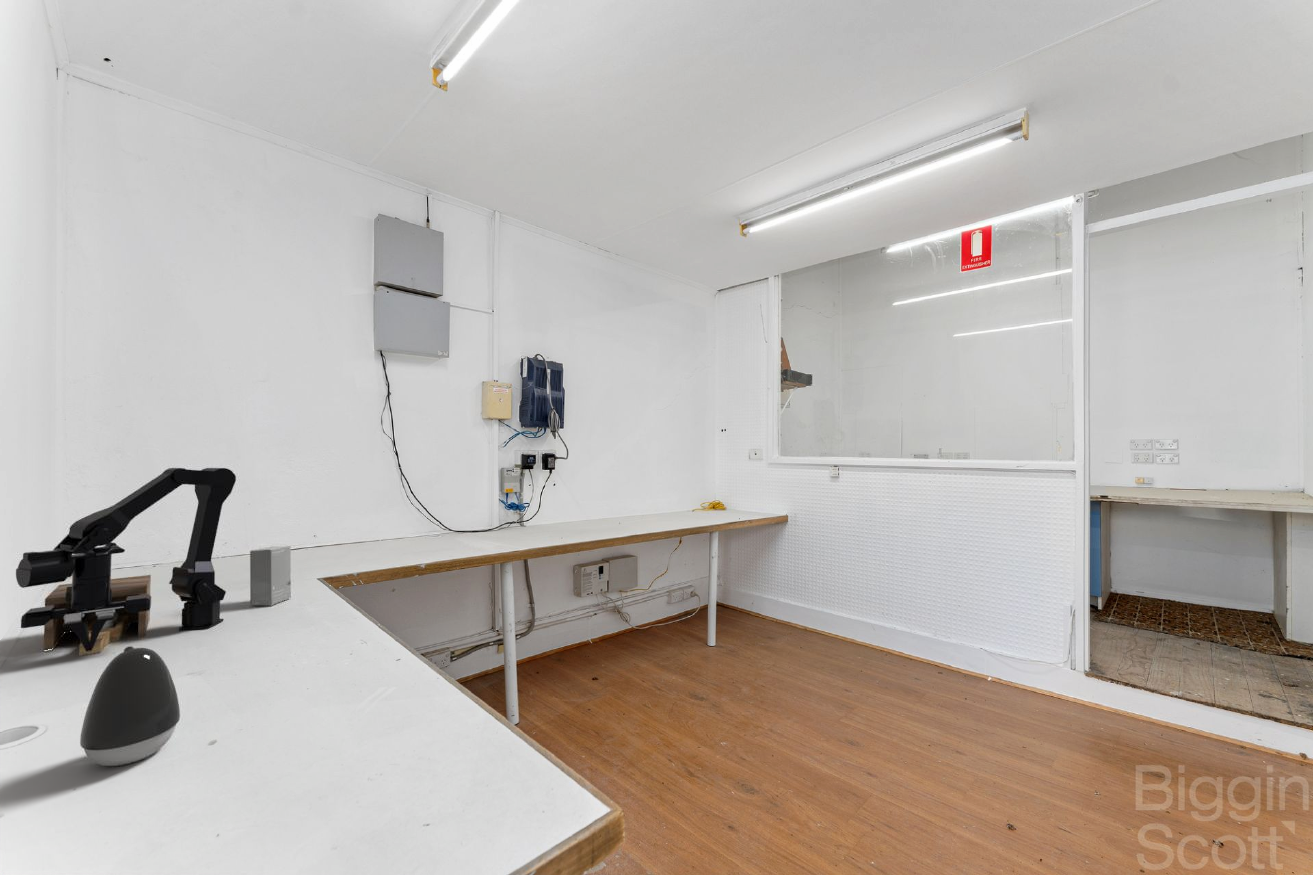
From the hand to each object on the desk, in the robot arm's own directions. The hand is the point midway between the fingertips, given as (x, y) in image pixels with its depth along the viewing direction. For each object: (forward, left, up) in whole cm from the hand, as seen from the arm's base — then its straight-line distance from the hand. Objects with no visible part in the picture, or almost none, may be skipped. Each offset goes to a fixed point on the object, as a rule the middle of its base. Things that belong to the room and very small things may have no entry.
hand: (89, 650), depth 114 cm
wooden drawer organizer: (+9, -15, -1) cm, 18 cm away
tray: (+5, -10, -1) cm, 11 cm away
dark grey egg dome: (-38, +45, -1) cm, 59 cm away
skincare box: (-17, -38, -1) cm, 41 cm away
